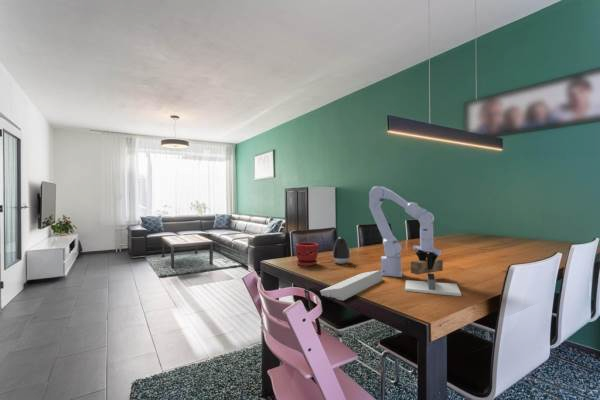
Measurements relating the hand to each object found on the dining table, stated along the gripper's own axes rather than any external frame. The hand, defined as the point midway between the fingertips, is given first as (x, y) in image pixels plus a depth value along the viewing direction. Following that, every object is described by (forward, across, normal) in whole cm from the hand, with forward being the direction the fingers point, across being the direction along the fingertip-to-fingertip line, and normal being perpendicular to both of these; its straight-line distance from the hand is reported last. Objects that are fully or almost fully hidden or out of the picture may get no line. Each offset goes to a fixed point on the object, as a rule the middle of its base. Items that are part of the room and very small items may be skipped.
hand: (426, 268), depth 135 cm
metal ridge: (+5, -11, +10) cm, 15 cm away
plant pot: (+6, +53, +36) cm, 64 cm away
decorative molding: (+6, +5, +36) cm, 37 cm away
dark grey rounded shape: (+6, +47, +17) cm, 50 cm away
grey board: (+5, -11, +10) cm, 15 cm away
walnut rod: (+2, 0, 0) cm, 2 cm away
